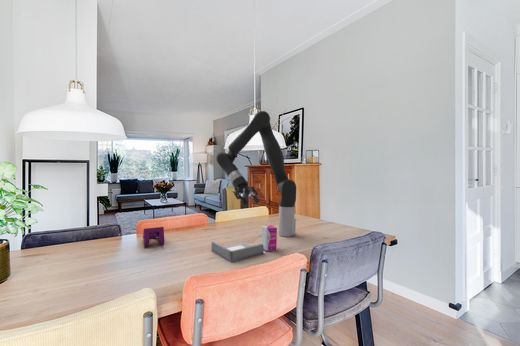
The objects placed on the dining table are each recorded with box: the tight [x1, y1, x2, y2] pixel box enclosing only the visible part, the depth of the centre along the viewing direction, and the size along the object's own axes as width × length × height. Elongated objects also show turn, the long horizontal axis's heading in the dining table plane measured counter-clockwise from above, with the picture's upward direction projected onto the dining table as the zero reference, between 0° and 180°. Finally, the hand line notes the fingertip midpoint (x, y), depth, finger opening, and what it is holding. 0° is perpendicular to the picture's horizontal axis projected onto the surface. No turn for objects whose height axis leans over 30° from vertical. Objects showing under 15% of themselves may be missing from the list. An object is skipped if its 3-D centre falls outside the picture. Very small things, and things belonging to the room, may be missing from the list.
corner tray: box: [210, 241, 264, 263], centre depth 126 cm, size 18×18×4 cm
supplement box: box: [261, 224, 278, 252], centre depth 130 cm, size 6×6×12 cm
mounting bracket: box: [142, 226, 165, 248], centre depth 140 cm, size 10×8×18 cm
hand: (252, 203), depth 138 cm, fingers open, 8 cm apart
